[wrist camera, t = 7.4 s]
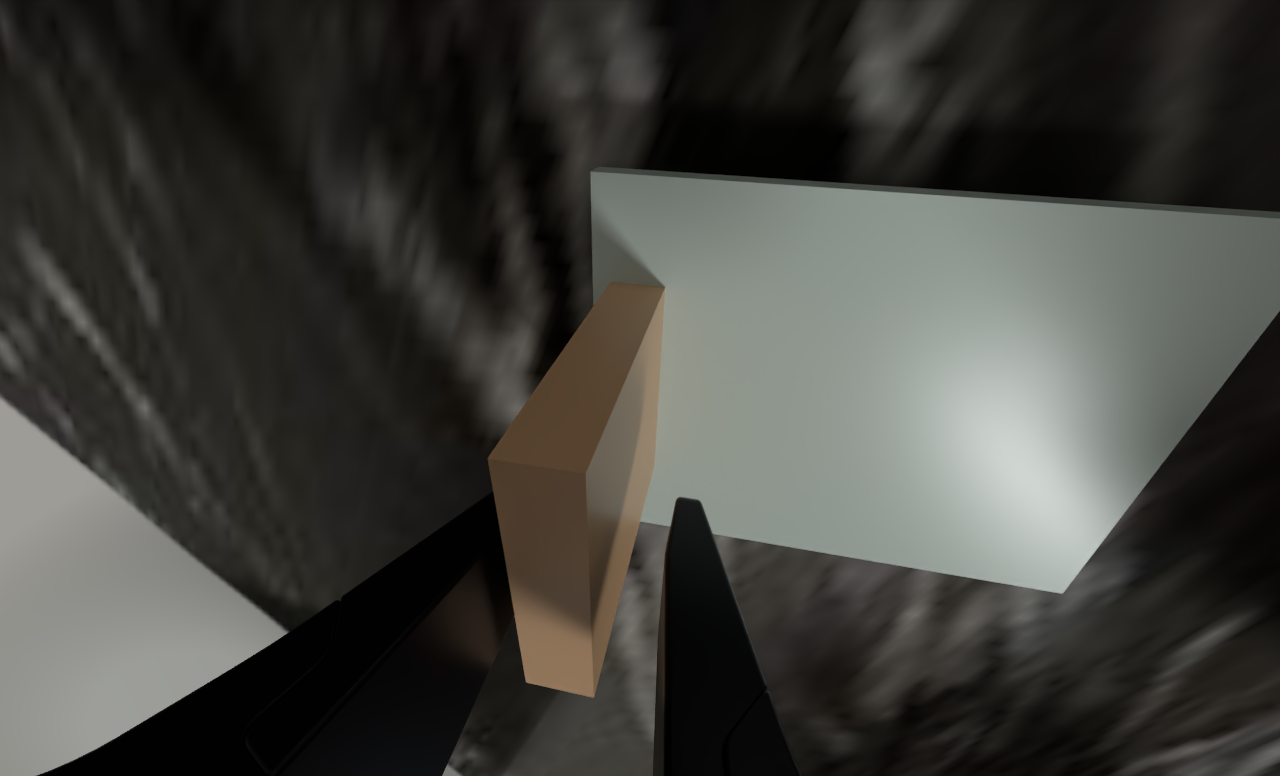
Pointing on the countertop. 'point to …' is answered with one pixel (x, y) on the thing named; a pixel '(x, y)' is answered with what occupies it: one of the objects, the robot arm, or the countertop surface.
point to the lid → (865, 381)
